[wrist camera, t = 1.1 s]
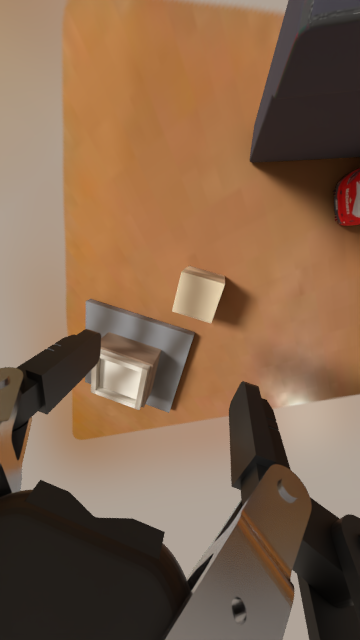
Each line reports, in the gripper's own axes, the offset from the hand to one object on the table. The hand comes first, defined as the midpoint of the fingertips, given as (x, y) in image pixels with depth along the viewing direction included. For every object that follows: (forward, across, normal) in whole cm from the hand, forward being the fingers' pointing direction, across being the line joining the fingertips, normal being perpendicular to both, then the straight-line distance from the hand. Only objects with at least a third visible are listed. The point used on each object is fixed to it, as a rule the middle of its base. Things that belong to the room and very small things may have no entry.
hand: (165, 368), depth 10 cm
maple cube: (+18, 0, 0) cm, 18 cm away
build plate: (+18, +8, +16) cm, 25 cm away
